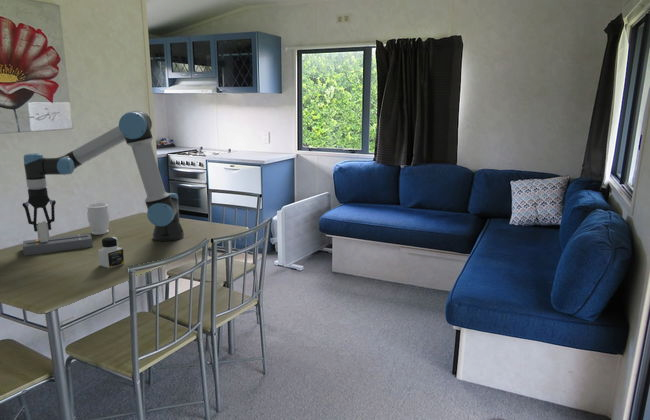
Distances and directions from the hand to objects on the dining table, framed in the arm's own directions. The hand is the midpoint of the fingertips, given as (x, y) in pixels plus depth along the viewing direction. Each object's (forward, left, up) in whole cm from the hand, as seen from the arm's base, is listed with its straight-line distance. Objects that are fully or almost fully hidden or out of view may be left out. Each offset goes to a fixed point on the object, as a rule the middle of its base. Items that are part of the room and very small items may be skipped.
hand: (43, 237), depth 219 cm
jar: (+9, -30, -6) cm, 32 cm away
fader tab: (0, 0, -4) cm, 4 cm away
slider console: (-2, -5, -6) cm, 8 cm away
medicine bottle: (-43, -10, -6) cm, 44 cm away
